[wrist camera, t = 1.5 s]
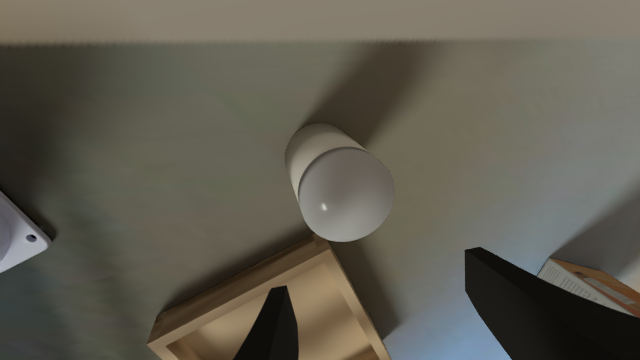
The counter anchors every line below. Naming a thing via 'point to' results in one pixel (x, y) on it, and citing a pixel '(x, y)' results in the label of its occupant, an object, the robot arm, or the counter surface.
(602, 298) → the small box
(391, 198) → the shaker
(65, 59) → the counter surface
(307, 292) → the tray
